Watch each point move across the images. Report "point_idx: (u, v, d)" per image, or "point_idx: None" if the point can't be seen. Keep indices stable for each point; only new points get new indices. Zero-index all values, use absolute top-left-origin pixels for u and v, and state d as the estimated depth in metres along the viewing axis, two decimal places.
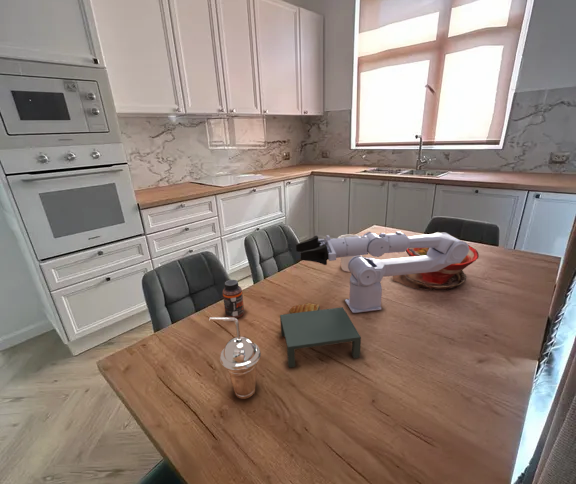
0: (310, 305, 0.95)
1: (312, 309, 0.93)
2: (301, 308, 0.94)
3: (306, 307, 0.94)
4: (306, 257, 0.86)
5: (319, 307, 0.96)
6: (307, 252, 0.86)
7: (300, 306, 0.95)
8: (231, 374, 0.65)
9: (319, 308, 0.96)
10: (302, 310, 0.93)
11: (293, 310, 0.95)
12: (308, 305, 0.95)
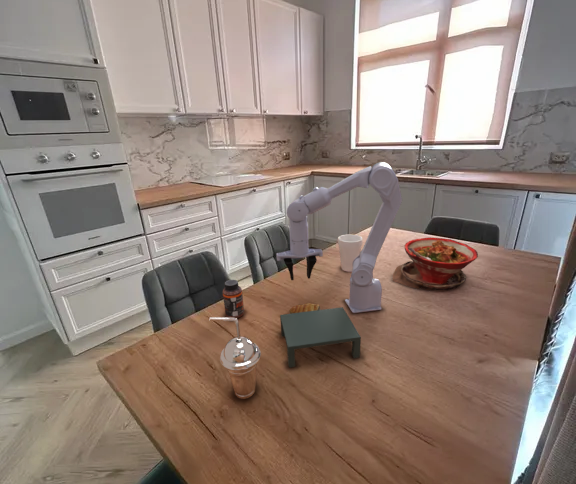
0: (310, 305, 0.95)
1: (312, 309, 0.93)
2: (301, 308, 0.94)
3: (306, 307, 0.94)
4: (290, 275, 1.00)
5: (319, 307, 0.96)
6: (289, 272, 1.01)
7: (300, 306, 0.95)
8: (231, 374, 0.65)
9: (319, 308, 0.96)
10: (302, 310, 0.93)
11: (293, 310, 0.95)
12: (308, 305, 0.95)
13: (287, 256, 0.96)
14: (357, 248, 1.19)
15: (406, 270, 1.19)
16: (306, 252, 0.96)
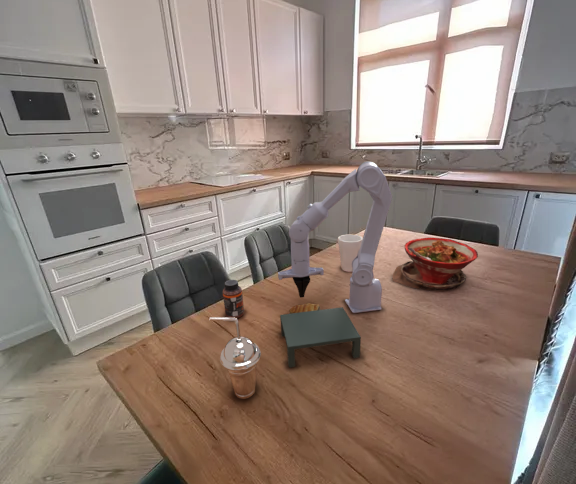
0: (310, 305, 0.95)
1: (312, 309, 0.93)
2: (301, 308, 0.94)
3: (306, 307, 0.94)
4: (299, 292, 1.02)
5: (319, 307, 0.96)
6: None
7: (300, 306, 0.95)
8: (231, 374, 0.65)
9: (319, 308, 0.96)
10: (302, 310, 0.93)
11: (293, 310, 0.95)
12: (308, 305, 0.95)
13: (288, 275, 0.97)
14: (357, 248, 1.19)
15: (406, 270, 1.19)
16: (307, 271, 0.97)
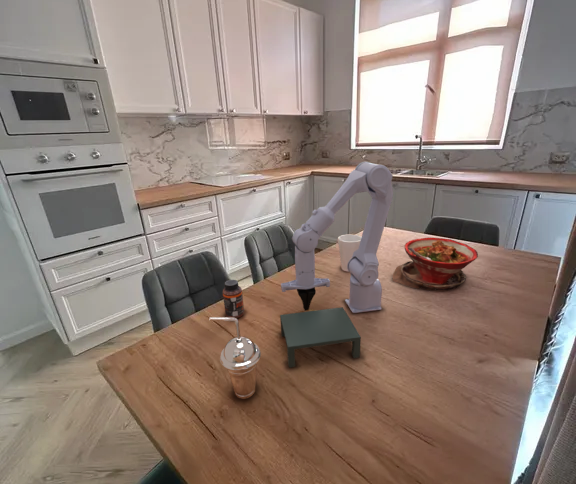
0: None
1: None
2: None
3: None
4: (303, 305, 0.95)
5: None
6: (302, 301, 0.96)
7: None
8: (231, 374, 0.65)
9: None
10: None
11: None
12: None
13: (292, 287, 0.91)
14: (357, 248, 1.19)
15: (406, 270, 1.19)
16: (313, 283, 0.91)
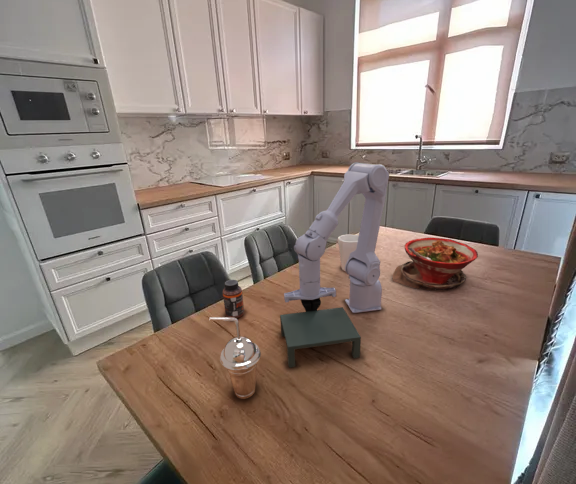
0: None
1: None
2: None
3: None
4: None
5: None
6: None
7: None
8: (231, 374, 0.65)
9: None
10: None
11: None
12: None
13: (296, 297, 0.85)
14: None
15: (406, 270, 1.19)
16: (318, 293, 0.85)
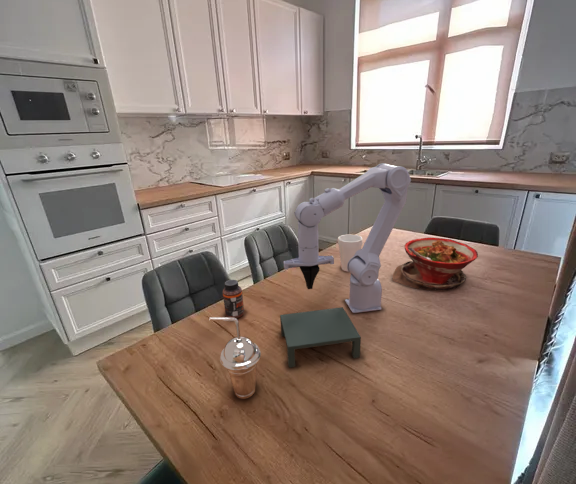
0: None
1: None
2: None
3: None
4: (306, 283, 0.92)
5: None
6: (305, 280, 0.93)
7: None
8: (231, 374, 0.65)
9: None
10: None
11: None
12: None
13: (295, 264, 0.88)
14: (357, 248, 1.19)
15: (406, 270, 1.19)
16: (316, 260, 0.88)
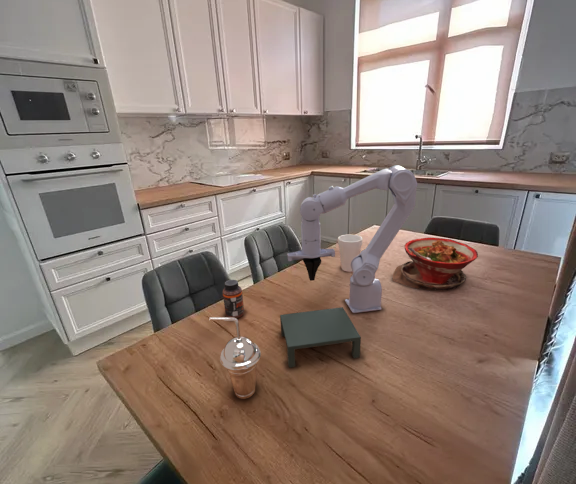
0: None
1: None
2: None
3: None
4: (309, 275, 0.97)
5: None
6: (308, 272, 0.98)
7: None
8: (231, 374, 0.65)
9: None
10: None
11: None
12: None
13: (299, 256, 0.93)
14: (357, 248, 1.19)
15: (406, 270, 1.19)
16: (318, 252, 0.93)
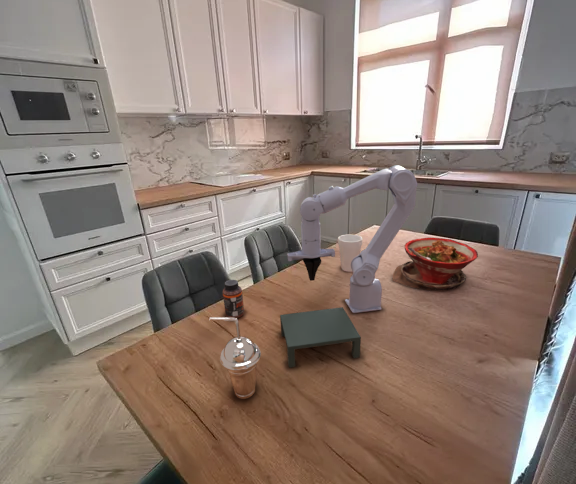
0: None
1: None
2: None
3: None
4: (309, 275, 0.97)
5: None
6: (308, 272, 0.98)
7: None
8: (231, 374, 0.65)
9: None
10: None
11: None
12: None
13: (299, 256, 0.93)
14: (357, 248, 1.19)
15: (406, 270, 1.19)
16: (318, 252, 0.93)
